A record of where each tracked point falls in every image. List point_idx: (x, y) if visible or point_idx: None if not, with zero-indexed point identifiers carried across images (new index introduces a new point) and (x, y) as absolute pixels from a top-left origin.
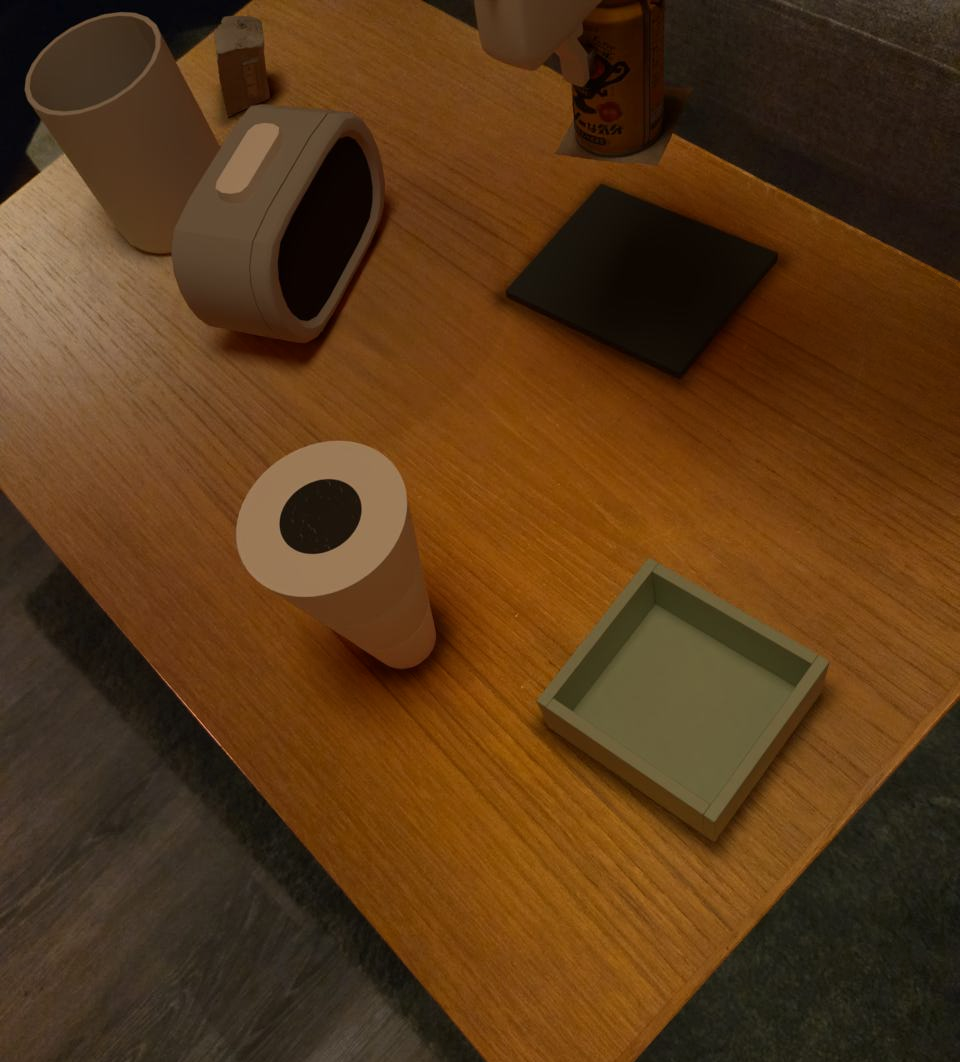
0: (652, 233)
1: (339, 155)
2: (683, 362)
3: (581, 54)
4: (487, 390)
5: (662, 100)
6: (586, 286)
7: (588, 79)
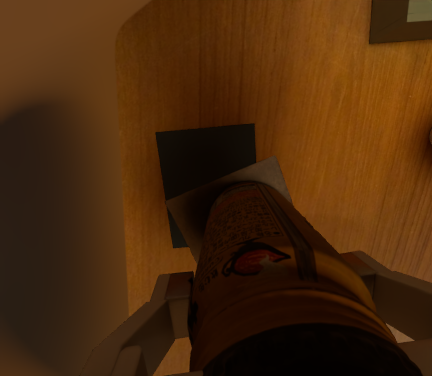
0: None
1: None
2: (247, 126)
3: (408, 279)
4: (309, 203)
5: (230, 194)
6: None
7: (353, 252)
